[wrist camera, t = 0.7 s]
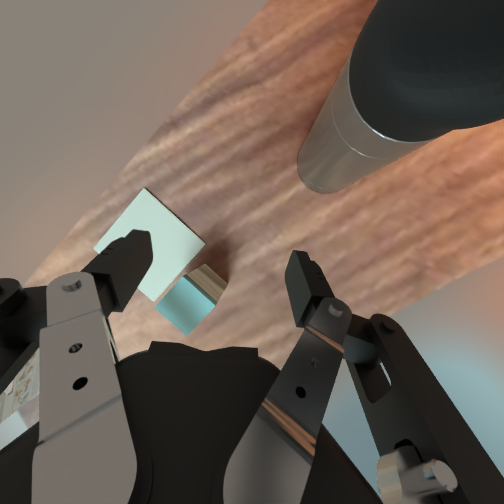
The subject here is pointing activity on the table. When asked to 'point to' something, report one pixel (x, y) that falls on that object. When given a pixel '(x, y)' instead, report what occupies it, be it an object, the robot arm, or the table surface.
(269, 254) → the table surface
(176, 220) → the mat
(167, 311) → the ash block
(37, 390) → the ink cartridge box
